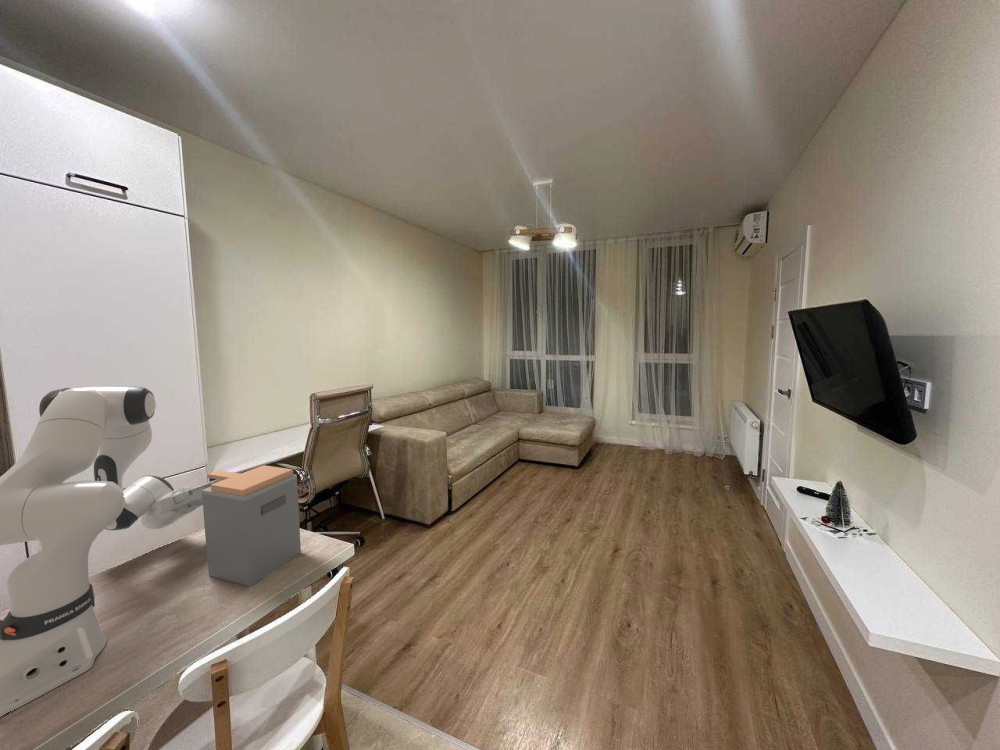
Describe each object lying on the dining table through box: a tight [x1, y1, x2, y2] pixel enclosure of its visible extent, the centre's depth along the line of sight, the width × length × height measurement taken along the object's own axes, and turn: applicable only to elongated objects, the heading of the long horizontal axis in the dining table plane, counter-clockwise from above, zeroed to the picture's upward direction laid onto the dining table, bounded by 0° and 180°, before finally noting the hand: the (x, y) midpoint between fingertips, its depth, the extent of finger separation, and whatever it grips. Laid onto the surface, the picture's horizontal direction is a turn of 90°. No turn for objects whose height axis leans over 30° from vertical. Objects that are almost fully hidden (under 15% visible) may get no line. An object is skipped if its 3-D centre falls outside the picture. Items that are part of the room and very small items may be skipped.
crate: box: [202, 473, 302, 587], centre depth 117 cm, size 18×16×26 cm
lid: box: [206, 464, 294, 496], centre depth 117 cm, size 17×23×2 cm
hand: (205, 486), depth 122 cm, fingers open, 8 cm apart
